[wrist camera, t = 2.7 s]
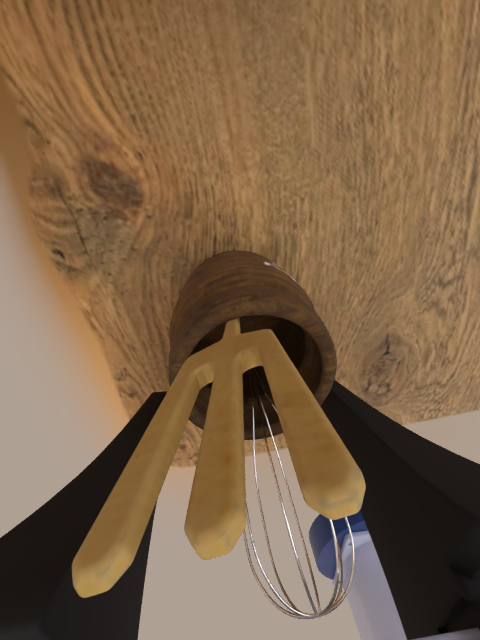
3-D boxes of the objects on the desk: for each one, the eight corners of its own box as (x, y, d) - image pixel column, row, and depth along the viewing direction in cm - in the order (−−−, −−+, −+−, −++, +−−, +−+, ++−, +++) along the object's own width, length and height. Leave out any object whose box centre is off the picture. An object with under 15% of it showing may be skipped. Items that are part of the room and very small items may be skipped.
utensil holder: (208, 361, 15) (187, 785, 4) (160, 266, 12) (-347, 723, 1) (298, 329, 14) (563, 685, 3) (269, 224, 12) (944, 314, 1)
